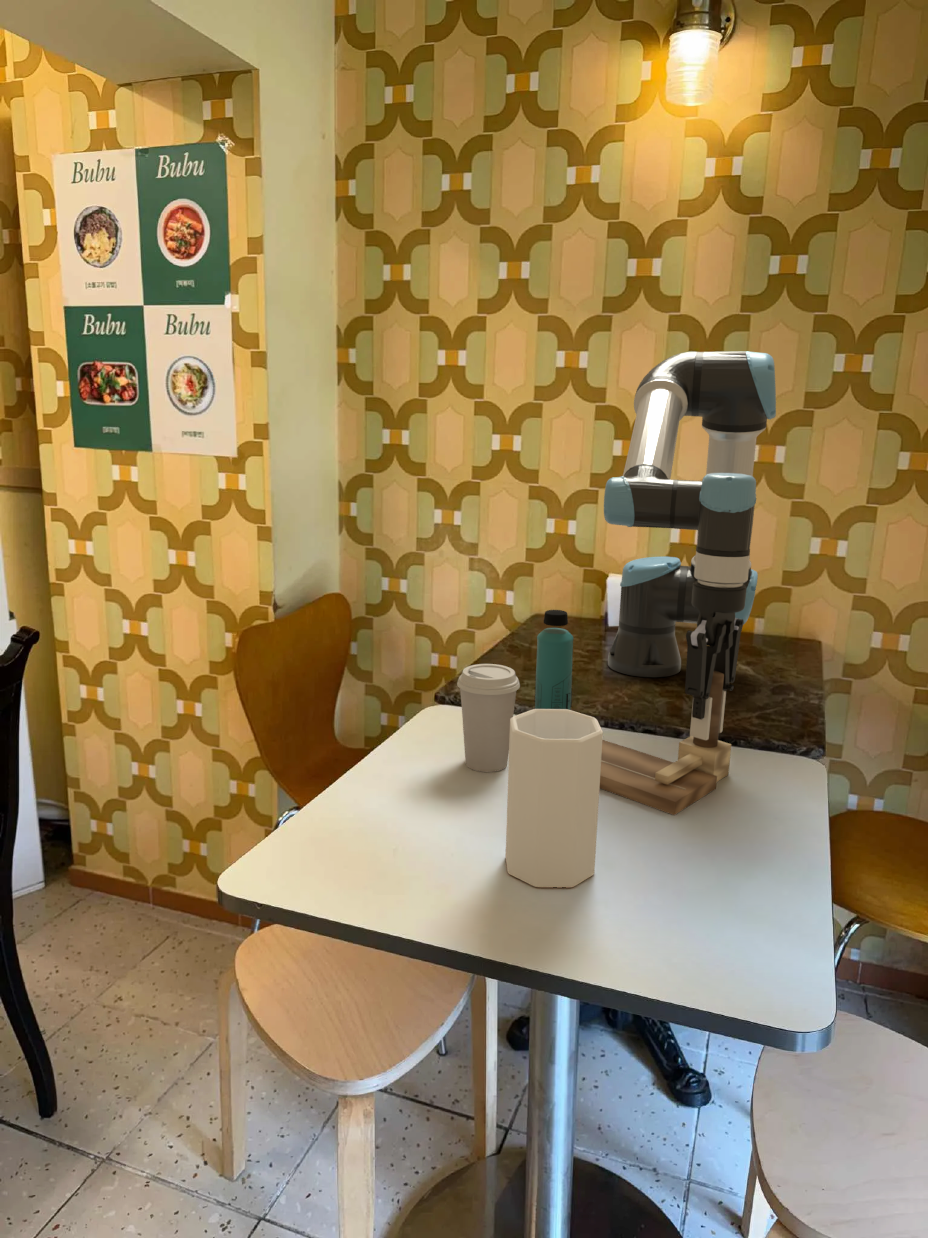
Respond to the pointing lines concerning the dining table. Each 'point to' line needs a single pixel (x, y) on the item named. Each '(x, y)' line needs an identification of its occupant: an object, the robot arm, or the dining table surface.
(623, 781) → the board
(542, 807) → the cup
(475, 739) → the coffee cup
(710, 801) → the dining table surface
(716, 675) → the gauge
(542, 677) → the beverage bottle
